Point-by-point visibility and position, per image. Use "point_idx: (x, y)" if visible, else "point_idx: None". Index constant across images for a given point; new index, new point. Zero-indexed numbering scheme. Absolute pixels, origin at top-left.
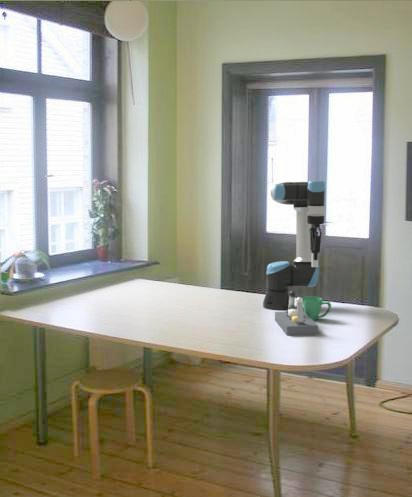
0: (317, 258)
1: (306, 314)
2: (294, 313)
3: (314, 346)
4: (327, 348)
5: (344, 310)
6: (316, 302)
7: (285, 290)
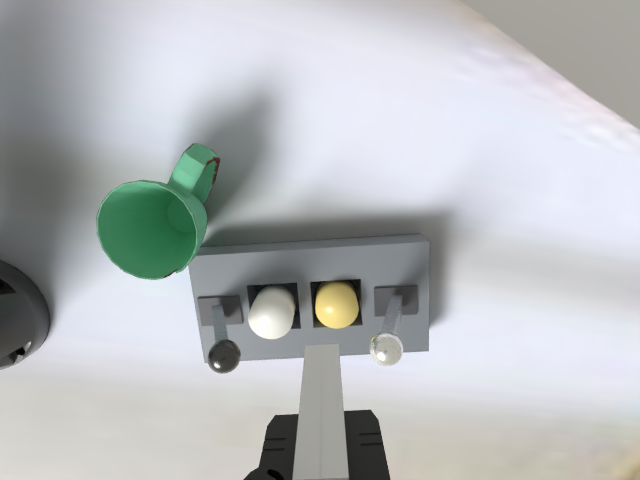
0: (379, 427)
1: (242, 254)
2: (293, 314)
3: (566, 271)
4: (599, 235)
5: (12, 37)
6: (197, 218)
7: None
